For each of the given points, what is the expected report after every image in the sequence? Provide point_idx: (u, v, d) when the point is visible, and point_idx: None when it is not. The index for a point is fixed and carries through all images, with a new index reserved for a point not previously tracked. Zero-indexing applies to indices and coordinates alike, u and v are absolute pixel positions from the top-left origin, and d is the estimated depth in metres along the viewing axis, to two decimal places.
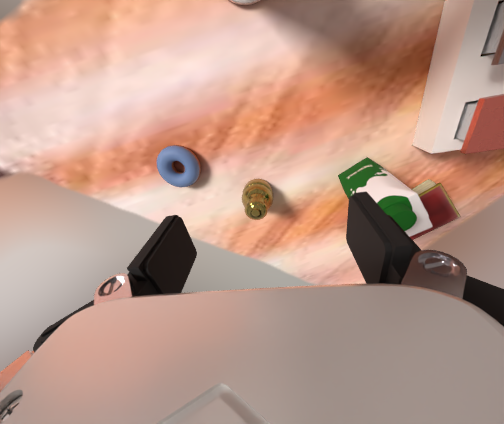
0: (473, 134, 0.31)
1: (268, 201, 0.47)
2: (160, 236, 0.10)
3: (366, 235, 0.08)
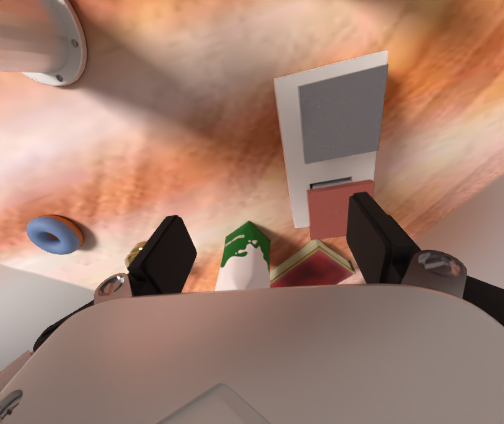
0: (311, 223, 0.29)
1: None
2: (160, 236, 0.10)
3: (366, 235, 0.08)
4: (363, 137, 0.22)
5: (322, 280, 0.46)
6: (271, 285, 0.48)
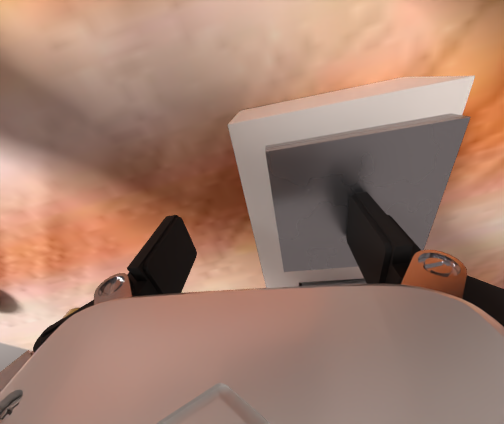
0: None
1: None
2: (160, 236, 0.10)
3: (366, 235, 0.08)
4: None
5: None
6: None
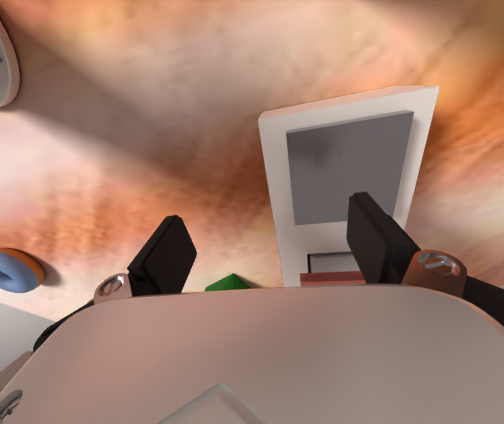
0: None
1: None
2: (160, 236, 0.10)
3: (366, 235, 0.08)
4: None
5: None
6: None
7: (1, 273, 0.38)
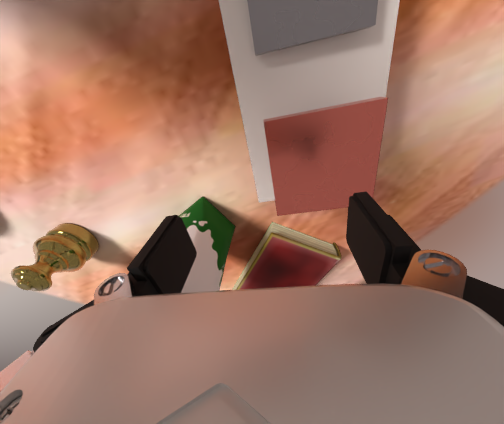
0: (275, 185, 0.17)
1: (69, 259, 0.32)
2: (160, 236, 0.10)
3: (366, 235, 0.08)
4: None
5: (300, 276, 0.33)
6: None
7: None
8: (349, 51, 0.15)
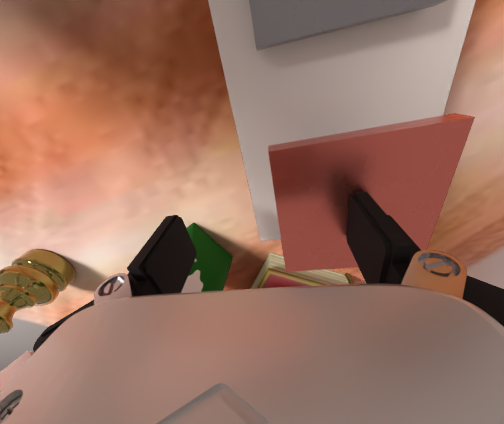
0: (283, 236, 0.12)
1: (37, 294, 0.27)
2: (160, 236, 0.10)
3: (366, 235, 0.08)
4: None
5: None
6: None
7: None
8: (397, 44, 0.10)
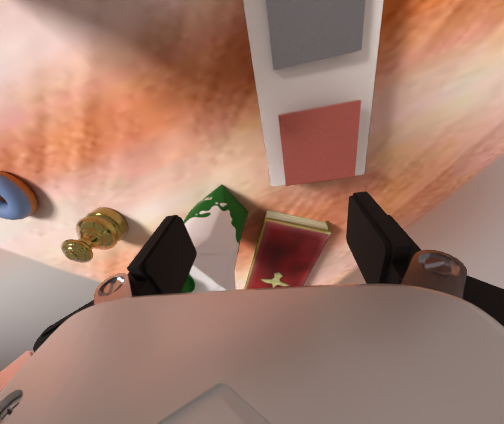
0: (284, 161, 0.23)
1: (106, 237, 0.37)
2: (160, 236, 0.10)
3: (366, 235, 0.08)
4: (342, 29, 0.18)
5: (300, 254, 0.38)
6: (252, 278, 0.42)
7: None
8: (343, 67, 0.20)
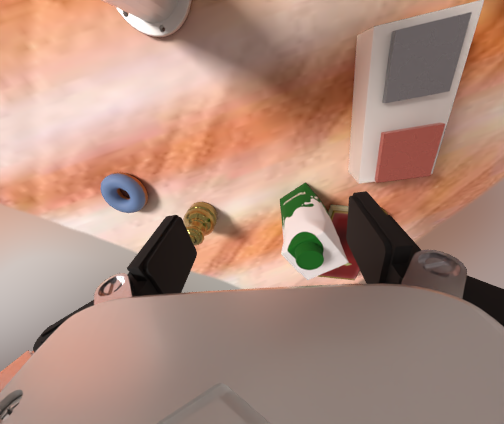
0: (380, 165, 0.33)
1: (208, 225, 0.47)
2: (160, 236, 0.10)
3: (366, 235, 0.08)
4: (439, 78, 0.27)
5: None
6: None
7: (116, 195, 0.47)
8: (431, 100, 0.30)
